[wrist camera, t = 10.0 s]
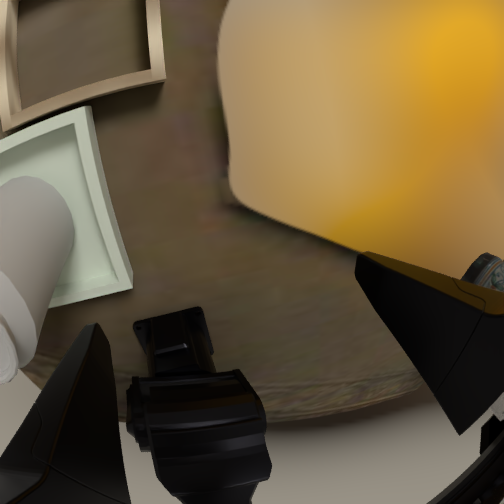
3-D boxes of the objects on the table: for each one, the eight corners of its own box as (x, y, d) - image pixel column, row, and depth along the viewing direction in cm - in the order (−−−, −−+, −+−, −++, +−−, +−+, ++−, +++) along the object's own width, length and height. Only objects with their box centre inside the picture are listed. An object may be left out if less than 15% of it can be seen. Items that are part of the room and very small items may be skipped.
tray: (133, 272, 21) (132, 288, 20) (9, 303, 18) (2, 319, 17) (91, 105, 15) (84, 106, 13) (-45, 168, 12) (-59, 175, 10)
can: (15, 276, 17) (-34, 397, 7) (-19, 191, 13) (-114, 283, 3) (90, 254, 19) (61, 392, 9) (60, 157, 15) (-37, 237, 5)
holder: (164, 81, 16) (166, 78, 14) (15, 128, 13) (2, 132, 11) (156, -49, 10) (157, -62, 8) (10, -2, 7) (0, -9, 6)
